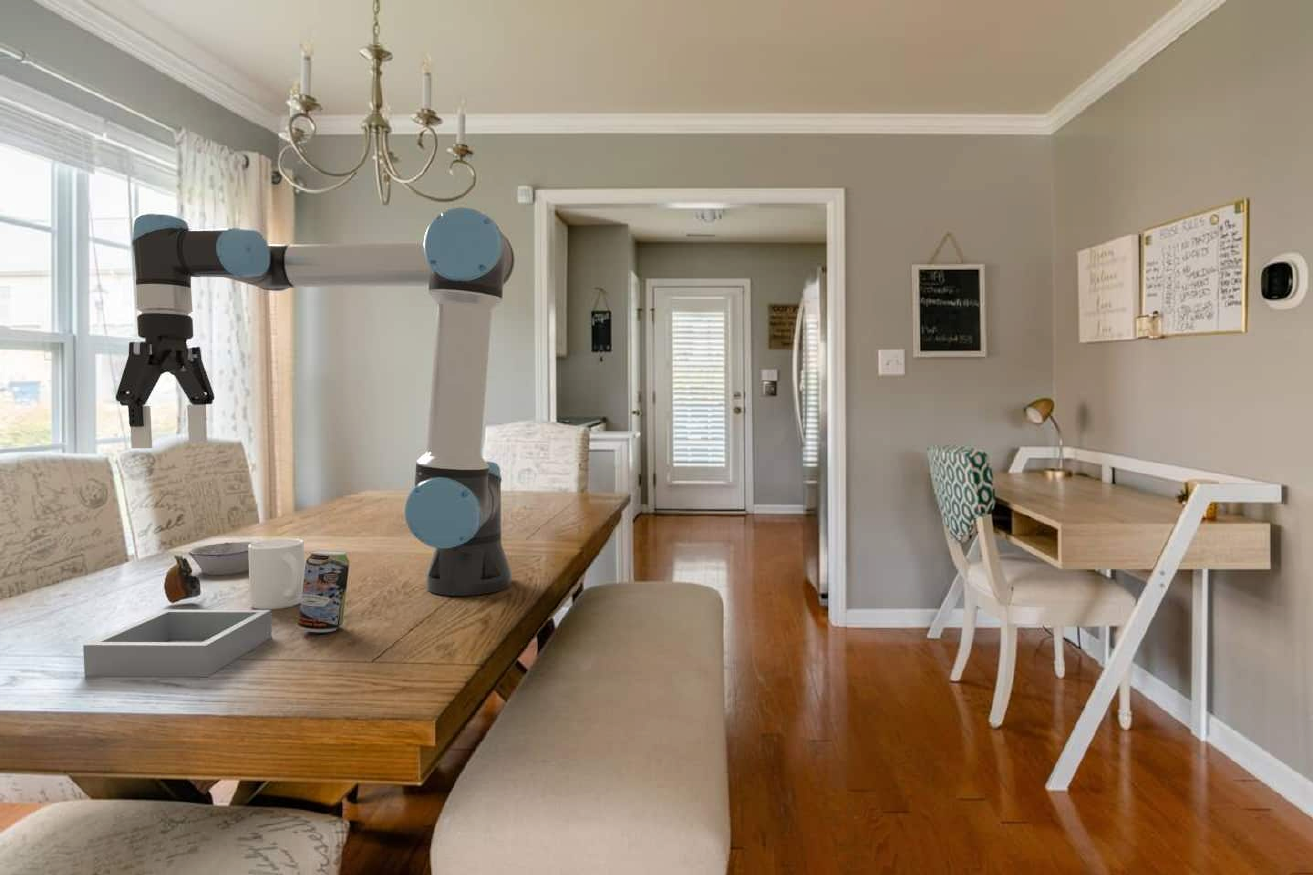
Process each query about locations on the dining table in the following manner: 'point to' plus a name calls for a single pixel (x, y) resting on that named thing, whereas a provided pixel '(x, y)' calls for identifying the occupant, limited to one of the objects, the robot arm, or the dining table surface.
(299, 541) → the mug
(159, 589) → the dining table surface
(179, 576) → the rock
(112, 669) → the corral
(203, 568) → the bowl
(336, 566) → the beverage can
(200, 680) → the dining table surface
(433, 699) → the dining table surface
